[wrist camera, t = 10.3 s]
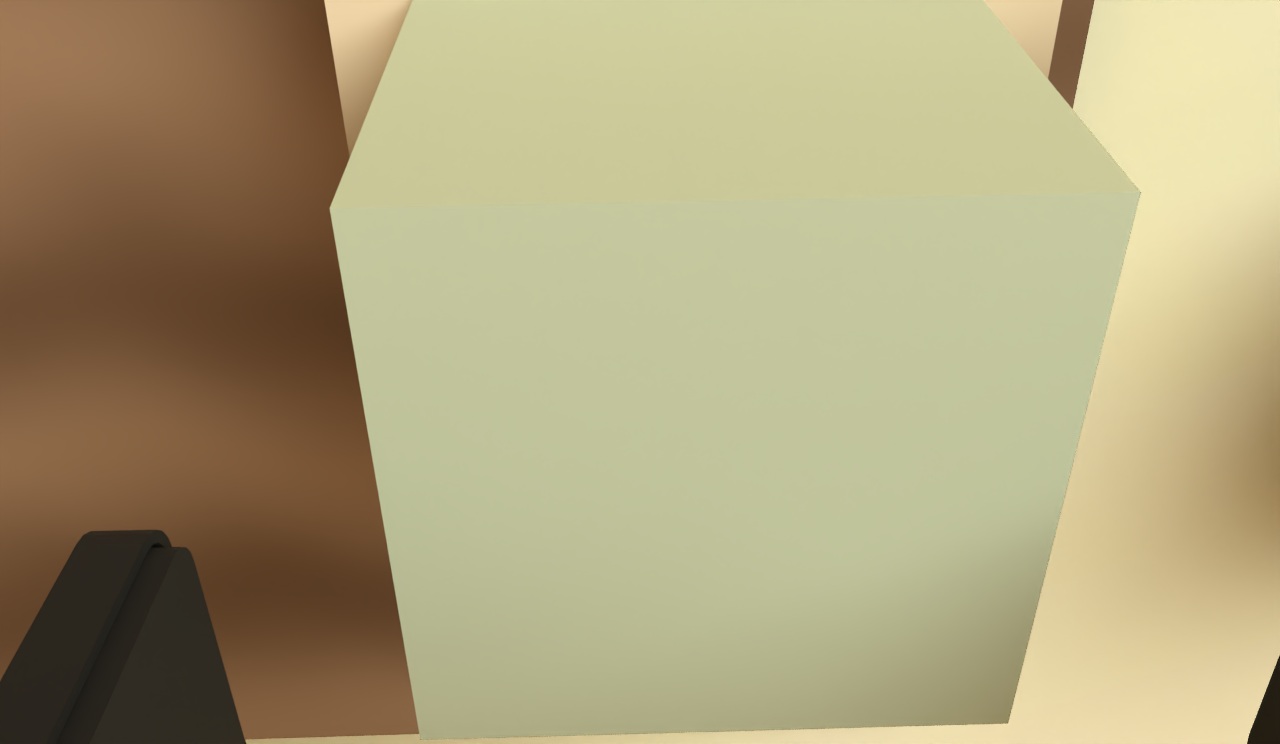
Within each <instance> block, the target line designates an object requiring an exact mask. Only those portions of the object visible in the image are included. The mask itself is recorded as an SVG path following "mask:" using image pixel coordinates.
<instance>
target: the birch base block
mask: <svg viewBox="0 0 1280 744" xmlns="http://www.w3.org/2000/svg"><path fill="white" fill-rule="evenodd" d="M983 1H984V2H985V3H986V5H987V6H988V7H989V8H990V9H991V11H992V12H993V13H994V14H995V16H996V17H997V18H998V19H999V20H1000V22H1001V23H1002V24H1003V25H1004V26H1005V28H1006V29H1007V30H1008V31H1009V33H1010V34H1011V35H1012V36H1013V37H1014V39H1015V40H1016V41H1017V42H1018V43H1019V45H1020V46H1021V47H1022V48H1023V50H1024V51H1025V52H1026V53H1027V54H1028V56H1029V57H1030V58H1031V59H1032V61H1033V62H1034V63H1035V64H1036V65H1037V67H1038V68H1039V69H1040V70H1041V71H1042V73H1043V74H1044V75H1045V76H1046V78H1047V79H1048V76H1049V70H1050V65H1051V60H1052V54H1053V49H1054V44H1055V38H1056V33H1057V27H1058V22H1059V17H1060V11H1061V6H1062V1H1063V0H983ZM324 2H325V8H326V14H327V20H328V26H329V33H330V39H331V45H332V51H333V57H334V64H335V70H336V76H337V82H338V88H339V95H340V101H341V107H342V113H343V119H344V126H345V132H346V138H347V144H348V150H349V157H350V156H351V153H352V151H353V148H354V146H355V143H356V141H357V138H358V136H359V133H360V131H361V128H362V126H363V123H364V121H365V118H366V116H367V113H368V111H369V108H370V106H371V103H372V101H373V98H374V96H375V93H376V91H377V88H378V86H379V83H380V81H381V78H382V76H383V73H384V71H385V68H386V65H387V63H388V60H389V58H390V55H391V53H392V50H393V48H394V45H395V43H396V40H397V38H398V35H399V33H400V30H401V28H402V25H403V23H404V20H405V18H406V15H407V13H408V10H409V8H410V5H411V3H412V0H324Z"/></svg>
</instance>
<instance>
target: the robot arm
mask: <svg viewBox="0 0 1280 744" xmlns="http://www.w3.org/2000/svg"><path fill="white" fill-rule="evenodd" d="M0 744H246V742H245V739H244V735H243V731H242V728H241V724H240V721H239V717H238V714H237V710H236V707H235V703H234V700H233V696H232V693H231V689H230V686H229V682H228V678H227V675H226V671H225V668H224V664H223V661H222V657H221V654H220V650H219V647H218V643H217V640H216V636H215V632H214V629H213V625H212V622H211V618H210V615H209V611H208V608H207V604H206V601H205V597H204V594H203V590H202V586H201V583H200V579H199V576H198V572H197V569H196V565H195V562H194V559H193V556H192V554H191V552H190V551H189V549H188V548H186V547H172V545H171V543H170V540H169V538H168V536H167V535H166V534H165V533H164V532H163V531H161V530H116V531H90V532H88V533H86V534H84V535H83V536H82V537H81V538H80V540H79V541H78V542H77V544H76V545H75V547H74V549H73V551H72V553H71V554H70V556H69V558H68V560H67V562H66V563H65V565H64V567H63V569H62V571H61V572H60V574H59V576H58V578H57V580H56V581H55V583H54V585H53V587H52V589H51V590H50V592H49V594H48V596H47V598H46V599H45V601H44V603H43V605H42V607H41V608H40V610H39V612H38V614H37V616H36V617H35V619H34V621H33V623H32V625H31V626H30V628H29V630H28V632H27V634H26V635H25V637H24V639H23V641H22V643H21V644H20V646H19V648H18V650H17V651H16V653H15V655H14V657H13V659H12V660H11V662H10V664H9V666H8V668H7V669H6V671H5V673H4V675H3V677H2V678H1V680H0ZM1247 744H1280V656H1279V658H1278V661H1277V664H1276V666H1275V669H1274V671H1273V674H1272V677H1271V679H1270V682H1269V684H1268V687H1267V690H1266V692H1265V695H1264V697H1263V700H1262V703H1261V705H1260V708H1259V710H1258V713H1257V716H1256V718H1255V721H1254V723H1253V726H1252V729H1251V731H1250V734H1249V738H1248V742H1247Z"/></svg>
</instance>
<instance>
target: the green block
mask: <svg viewBox="0 0 1280 744" xmlns="http://www.w3.org/2000/svg"><path fill="white" fill-rule="evenodd" d="M1140 193H1141V192H1140V191H1139V189H1138V188H1137V187H1136V186H1135V185H1134V183H1133V182H1132V181H1131V180H1130V178H1129V177H1128V176H1127V175H1126V174H1125V172H1124V171H1123V170H1122V169H1121V168H1120V166H1119V165H1118V164H1117V163H1116V161H1115V160H1114V159H1113V158H1112V157H1111V155H1110V154H1109V153H1108V152H1107V151H1106V149H1105V148H1104V147H1103V146H1102V144H1101V143H1100V142H1099V141H1098V140H1097V138H1096V137H1095V136H1094V135H1093V133H1092V132H1091V131H1090V130H1089V129H1088V127H1087V126H1086V125H1085V124H1084V123H1083V121H1082V120H1081V119H1080V118H1079V116H1078V115H1077V114H1076V113H1075V112H1074V110H1073V109H1072V108H1071V107H1070V106H1069V104H1068V103H1067V102H1066V101H1065V99H1064V98H1063V97H1062V96H1061V95H1060V93H1059V92H1058V91H1057V90H1056V88H1055V87H1054V86H1053V85H1052V84H1051V82H1050V81H1049V80H1048V79H1047V78H1046V76H1045V75H1044V74H1043V73H1042V71H1041V70H1040V69H1039V68H1038V67H1037V65H1036V64H1035V63H1034V62H1033V61H1032V59H1031V58H1030V57H1029V56H1028V54H1027V53H1026V52H1025V51H1024V50H1023V48H1022V47H1021V46H1020V45H1019V43H1018V42H1017V41H1016V40H1015V39H1014V37H1013V36H1012V35H1011V34H1010V33H1009V31H1008V30H1007V29H1006V28H1005V26H1004V25H1003V24H1002V23H1001V22H1000V20H999V19H998V18H997V17H996V16H995V14H994V13H993V12H992V11H991V9H990V8H989V7H988V6H987V5H986V3H985V2H984V1H983V0H412V3H411V5H410V8H409V10H408V13H407V15H406V18H405V20H404V23H403V25H402V28H401V30H400V33H399V35H398V38H397V40H396V43H395V45H394V48H393V50H392V53H391V55H390V58H389V60H388V63H387V65H386V68H385V71H384V73H383V76H382V78H381V81H380V83H379V86H378V88H377V91H376V93H375V96H374V98H373V101H372V103H371V106H370V108H369V111H368V113H367V116H366V118H365V121H364V123H363V126H362V128H361V131H360V133H359V136H358V138H357V141H356V143H355V146H354V148H353V151H352V153H351V156H350V158H349V161H348V163H347V166H346V169H345V171H344V174H343V176H342V179H341V181H340V184H339V186H338V189H337V191H336V194H335V196H334V199H333V201H332V204H331V206H330V214H331V220H332V225H333V231H334V237H335V243H336V249H337V255H338V261H339V266H340V272H341V278H342V284H343V290H344V296H345V302H346V307H347V313H348V319H349V325H350V331H351V337H352V343H353V348H354V354H355V360H356V366H357V372H358V378H359V383H360V389H361V395H362V401H363V407H364V413H365V419H366V424H367V430H368V436H369V442H370V448H371V454H372V460H373V465H374V471H375V477H376V483H377V489H378V495H379V501H380V506H381V512H382V518H383V524H384V530H385V536H386V541H387V547H388V553H389V559H390V565H391V571H392V577H393V582H394V588H395V594H396V600H397V606H398V612H399V618H400V623H401V629H402V635H403V641H404V647H405V653H406V659H407V664H408V670H409V676H410V682H411V688H412V694H413V700H414V705H415V711H416V717H417V723H418V729H419V735H420V740H435V739H470V738H506V737H541V736H577V735H612V734H648V733H683V732H719V731H754V730H790V729H825V728H861V727H896V726H932V725H967V724H1003V723H1008V721H1009V717H1010V713H1011V709H1012V705H1013V701H1014V697H1015V693H1016V689H1017V685H1018V681H1019V677H1020V673H1021V669H1022V665H1023V661H1024V657H1025V653H1026V649H1027V645H1028V641H1029V637H1030V633H1031V629H1032V625H1033V621H1034V617H1035V613H1036V609H1037V605H1038V601H1039V597H1040V593H1041V589H1042V585H1043V581H1044V577H1045V573H1046V569H1047V565H1048V561H1049V557H1050V553H1051V549H1052V545H1053V541H1054V537H1055V533H1056V529H1057V525H1058V521H1059V517H1060V513H1061V509H1062V505H1063V501H1064V497H1065V493H1066V489H1067V485H1068V481H1069V477H1070V473H1071V469H1072V465H1073V461H1074V457H1075V453H1076V449H1077V445H1078V441H1079V437H1080V433H1081V429H1082V425H1083V421H1084V417H1085V413H1086V409H1087V405H1088V401H1089V397H1090V393H1091V389H1092V385H1093V381H1094V377H1095V373H1096V369H1097V365H1098V361H1099V357H1100V353H1101V349H1102V345H1103V341H1104V337H1105V333H1106V329H1107V325H1108V321H1109V317H1110V313H1111V309H1112V305H1113V301H1114V297H1115V293H1116V289H1117V285H1118V281H1119V277H1120V273H1121V269H1122V265H1123V261H1124V257H1125V253H1126V249H1127V245H1128V241H1129V237H1130V233H1131V229H1132V225H1133V221H1134V217H1135V213H1136V209H1137V205H1138V201H1139V197H1140Z"/></svg>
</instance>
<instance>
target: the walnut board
mask: <svg viewBox="0 0 1280 744" xmlns="http://www.w3.org/2000/svg"><path fill="white" fill-rule="evenodd" d="M1093 4H1094V0H1063V1H1062V6H1061V11H1060V17H1059V22H1058V27H1057V33H1056V38H1055V44H1054V49H1053V54H1052V60H1051V65H1050V70H1049V76H1048V80H1049V81H1050V82H1051V84H1052V85H1053V86H1054V87H1055V88H1056V90H1057V91H1058V92H1059V93H1060V95H1061V96H1062V97H1063V98H1064V99H1065V101H1066V102H1067V103H1068V104H1069V106H1070V107H1071V108H1072V109H1073V104H1074V99H1075V94H1076V89H1077V84H1078V79H1079V74H1080V69H1081V64H1082V59H1083V54H1084V49H1085V44H1086V39H1087V34H1088V29H1089V24H1090V19H1091V14H1092V9H1093ZM349 158H350V157H349V150H348V144H347V138H346V132H345V126H344V119H343V113H342V107H341V101H340V95H339V88H338V82H337V76H336V70H335V64H334V57H333V51H332V45H331V39H330V33H329V26H328V20H327V14H326V8H325V2H324V0H0V680H1V678H2V677H3V675H4V673H5V671H6V669H7V668H8V666H9V664H10V662H11V660H12V659H13V657H14V655H15V653H16V651H17V650H18V648H19V646H20V644H21V643H22V641H23V639H24V637H25V635H26V634H27V632H28V630H29V628H30V626H31V625H32V623H33V621H34V619H35V617H36V616H37V614H38V612H39V610H40V608H41V607H42V605H43V603H44V601H45V599H46V598H47V596H48V594H49V592H50V590H51V589H52V587H53V585H54V583H55V581H56V580H57V578H58V576H59V574H60V572H61V571H62V569H63V567H64V565H65V563H66V562H67V560H68V558H69V556H70V554H71V553H72V551H73V549H74V547H75V545H76V544H77V542H78V541H79V540H80V538H81V537H82V536H83V535H84V534H86V533H88V532H90V531H116V530H161V531H163V532H164V533H165V534H166V535H167V536H168V538H169V540H170V543H171V545H172V547H186V548H188V549H189V551H190V552H191V554H192V556H193V559H194V562H195V565H196V569H197V572H198V576H199V579H200V583H201V586H202V590H203V594H204V597H205V601H206V604H207V608H208V611H209V615H210V618H211V622H212V625H213V629H214V632H215V636H216V640H217V643H218V647H219V650H220V654H221V657H222V661H223V664H224V668H225V671H226V675H227V678H228V682H229V686H230V689H231V693H232V696H233V700H234V703H235V707H236V710H237V714H238V717H239V721H240V724H241V728H242V731H243V735H244V739H267V738H300V737H332V736H364V735H396V734H419V729H418V723H417V717H416V711H415V705H414V700H413V694H412V688H411V682H410V676H409V670H408V664H407V659H406V653H405V647H404V641H403V635H402V629H401V623H400V618H399V612H398V606H397V600H396V594H395V588H394V582H393V577H392V571H391V565H390V559H389V553H388V547H387V541H386V536H385V530H384V524H383V518H382V512H381V506H380V501H379V495H378V489H377V483H376V477H375V471H374V465H373V460H372V454H371V448H370V442H369V436H368V430H367V424H366V419H365V413H364V407H363V401H362V395H361V389H360V383H359V378H358V372H357V366H356V360H355V354H354V348H353V343H352V337H351V331H350V325H349V319H348V313H347V307H346V302H345V296H344V290H343V284H342V278H341V272H340V266H339V261H338V255H337V249H336V243H335V237H334V231H333V225H332V220H331V214H330V206H331V204H332V201H333V199H334V196H335V194H336V191H337V189H338V186H339V184H340V181H341V179H342V176H343V174H344V171H345V169H346V166H347V163H348V161H349Z"/></svg>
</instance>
